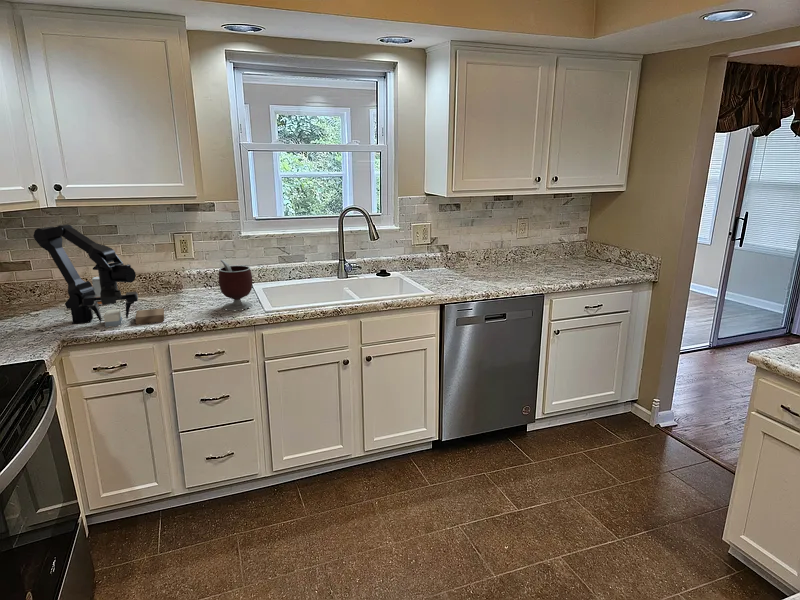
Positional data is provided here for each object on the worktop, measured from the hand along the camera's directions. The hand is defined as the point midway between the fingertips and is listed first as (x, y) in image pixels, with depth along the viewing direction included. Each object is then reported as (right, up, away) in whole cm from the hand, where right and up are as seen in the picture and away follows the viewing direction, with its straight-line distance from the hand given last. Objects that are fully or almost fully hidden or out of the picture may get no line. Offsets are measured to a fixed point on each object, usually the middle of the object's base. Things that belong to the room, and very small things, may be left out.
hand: (113, 319), depth 208 cm
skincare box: (-19, +6, +27) cm, 34 cm away
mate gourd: (+41, +5, +24) cm, 48 cm away
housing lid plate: (0, +1, 0) cm, 1 cm away
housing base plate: (0, -2, +1) cm, 2 cm away
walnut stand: (+12, 0, +5) cm, 13 cm away
